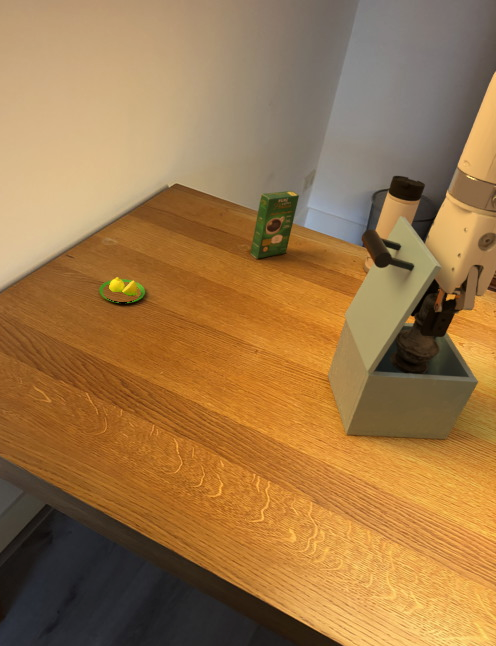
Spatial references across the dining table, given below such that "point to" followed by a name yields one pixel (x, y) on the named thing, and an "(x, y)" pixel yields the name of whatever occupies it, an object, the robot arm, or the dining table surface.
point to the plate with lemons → (123, 288)
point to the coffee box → (274, 223)
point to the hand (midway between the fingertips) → (426, 324)
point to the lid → (389, 289)
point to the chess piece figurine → (416, 343)
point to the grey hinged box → (399, 391)
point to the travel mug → (397, 207)
